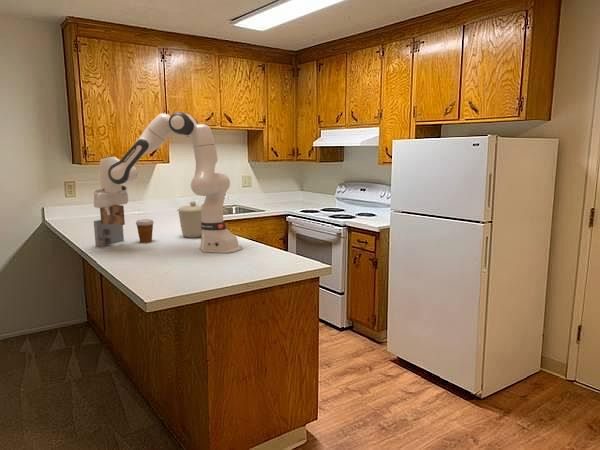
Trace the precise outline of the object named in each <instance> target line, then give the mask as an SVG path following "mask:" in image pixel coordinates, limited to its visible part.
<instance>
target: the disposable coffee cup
mask: <svg viewBox="0 0 600 450" xmlns="http://www.w3.org/2000/svg"><path fill="white" fill-rule="evenodd" d="M135 225H136V227H137V233H138V237H139V242H140V243H144V244H147V243H151V242H153V231H154V230H153V229H154V228H153V227H154V220H153V219H147V218H146V219H139V220H136V222H135Z"/></svg>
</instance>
